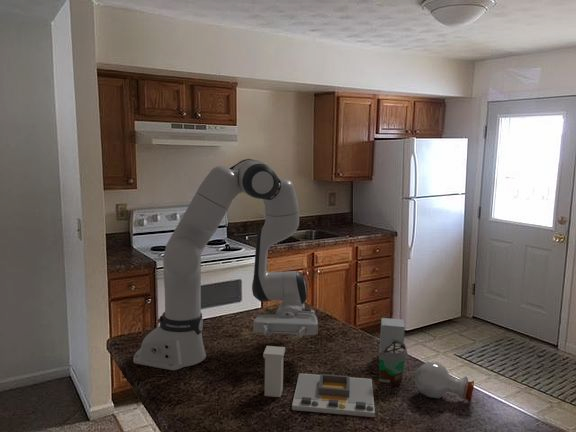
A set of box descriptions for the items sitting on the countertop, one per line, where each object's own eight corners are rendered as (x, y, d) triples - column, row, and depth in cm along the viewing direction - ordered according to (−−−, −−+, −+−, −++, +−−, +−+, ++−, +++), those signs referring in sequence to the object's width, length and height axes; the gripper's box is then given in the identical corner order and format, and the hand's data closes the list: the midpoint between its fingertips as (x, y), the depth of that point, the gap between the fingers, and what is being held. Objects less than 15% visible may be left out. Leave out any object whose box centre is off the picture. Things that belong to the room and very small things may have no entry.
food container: (398, 391, 130) (400, 357, 129) (377, 385, 134) (378, 352, 132) (411, 374, 141) (413, 343, 140) (392, 369, 144) (393, 338, 143)
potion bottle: (411, 393, 132) (467, 412, 127) (410, 387, 124) (470, 407, 118) (419, 361, 136) (473, 378, 130) (418, 354, 128) (476, 371, 122)
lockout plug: (262, 396, 127) (263, 353, 125) (266, 387, 132) (266, 345, 130) (281, 398, 126) (282, 355, 124) (284, 388, 131) (285, 347, 129)
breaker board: (291, 409, 120) (292, 398, 120) (299, 377, 138) (299, 366, 137) (374, 417, 118) (375, 405, 117) (371, 382, 135) (371, 372, 135)
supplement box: (403, 365, 147) (405, 327, 145) (378, 363, 148) (380, 325, 147) (402, 356, 154) (404, 319, 152) (379, 353, 155) (380, 317, 154)
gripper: (257, 307, 154) (248, 323, 140) (319, 310, 151) (316, 325, 137) (257, 326, 155) (248, 343, 141) (319, 328, 152) (316, 346, 138)
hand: (282, 334), depth 139 cm, fingers open, 8 cm apart
